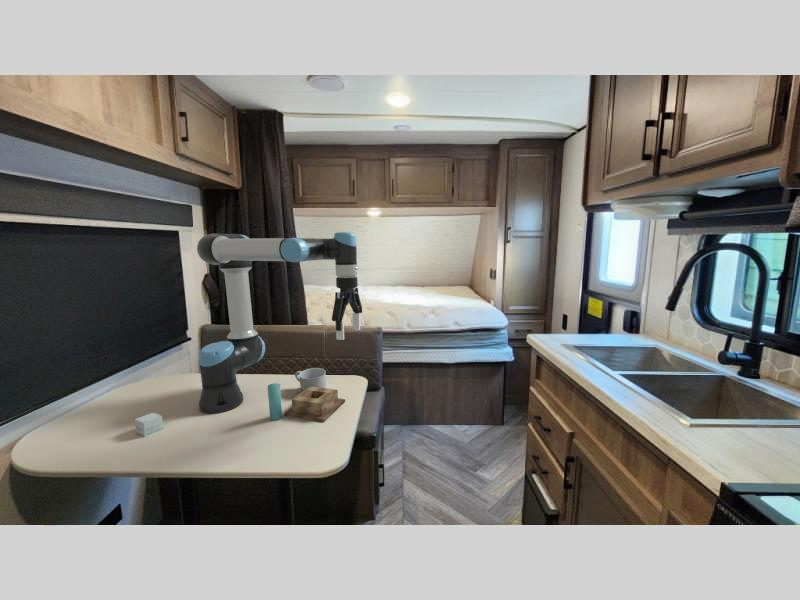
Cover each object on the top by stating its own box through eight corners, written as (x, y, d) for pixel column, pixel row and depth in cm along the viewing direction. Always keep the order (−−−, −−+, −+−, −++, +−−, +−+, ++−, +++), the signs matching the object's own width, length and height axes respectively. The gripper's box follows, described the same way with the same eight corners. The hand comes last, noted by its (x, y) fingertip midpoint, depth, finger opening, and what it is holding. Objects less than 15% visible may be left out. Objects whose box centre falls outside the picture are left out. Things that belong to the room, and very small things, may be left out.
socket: (284, 415, 122) (283, 401, 121) (309, 396, 137) (308, 383, 136) (324, 422, 117) (323, 407, 116) (345, 401, 132) (344, 388, 131)
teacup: (332, 388, 144) (331, 370, 143) (312, 398, 135) (311, 379, 134) (308, 382, 151) (307, 364, 150) (289, 391, 142) (287, 372, 141)
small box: (164, 429, 114) (162, 415, 113) (144, 437, 109) (142, 423, 108) (155, 425, 117) (153, 411, 116) (135, 433, 112) (133, 419, 111)
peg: (267, 419, 119) (265, 387, 117) (275, 414, 123) (272, 382, 121) (277, 421, 118) (274, 388, 116) (284, 415, 122) (282, 383, 120)
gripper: (340, 280, 108) (342, 344, 112) (369, 273, 132) (371, 327, 135) (319, 279, 110) (322, 343, 114) (352, 273, 134) (353, 326, 137)
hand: (348, 334), depth 124 cm, fingers open, 13 cm apart
